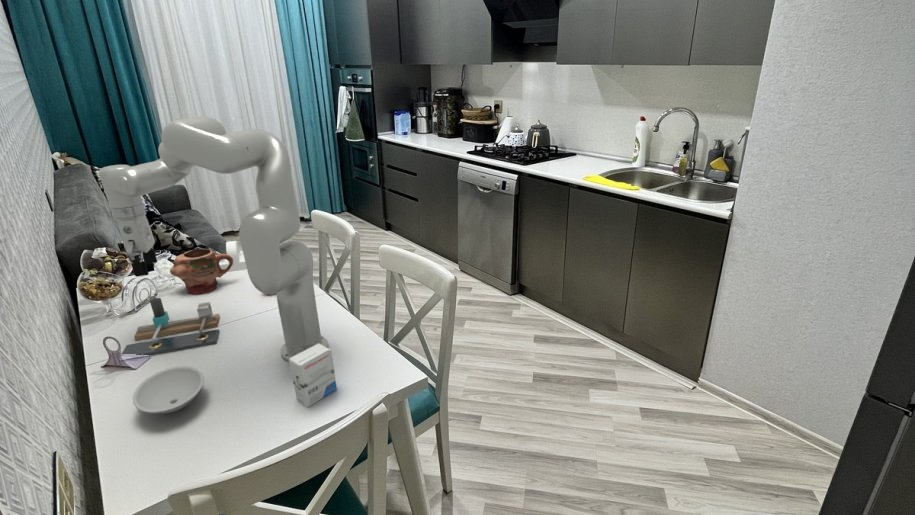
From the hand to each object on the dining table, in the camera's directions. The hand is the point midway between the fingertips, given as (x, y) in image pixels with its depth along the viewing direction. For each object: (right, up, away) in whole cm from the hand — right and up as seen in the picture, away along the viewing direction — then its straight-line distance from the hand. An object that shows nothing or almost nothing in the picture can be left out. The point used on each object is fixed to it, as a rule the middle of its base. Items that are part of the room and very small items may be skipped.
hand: (146, 269), depth 134 cm
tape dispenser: (0, -1, +54) cm, 54 cm away
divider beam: (+5, -20, +6) cm, 21 cm away
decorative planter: (-2, -8, +36) cm, 37 cm away
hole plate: (+7, -22, 0) cm, 23 cm away
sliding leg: (+1, -19, +4) cm, 19 cm away
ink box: (+55, -30, -21) cm, 66 cm away
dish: (+22, -32, -23) cm, 45 cm away
